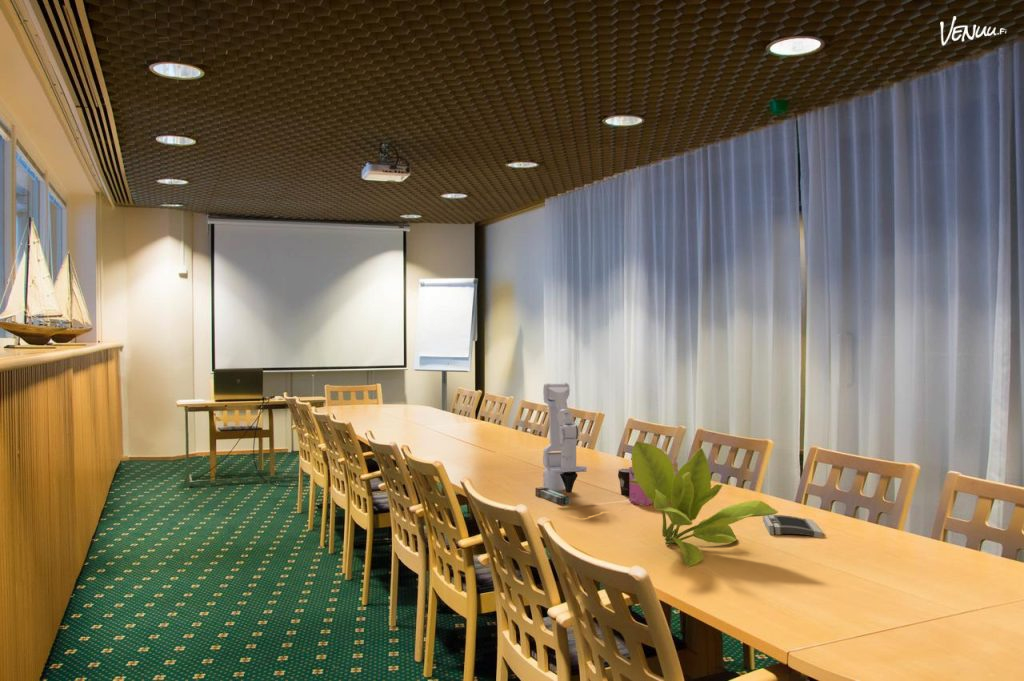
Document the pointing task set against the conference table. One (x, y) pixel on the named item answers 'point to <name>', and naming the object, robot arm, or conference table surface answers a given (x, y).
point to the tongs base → (548, 495)
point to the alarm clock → (791, 525)
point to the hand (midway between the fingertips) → (568, 492)
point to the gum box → (636, 491)
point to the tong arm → (566, 498)
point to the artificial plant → (688, 498)
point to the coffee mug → (624, 481)
